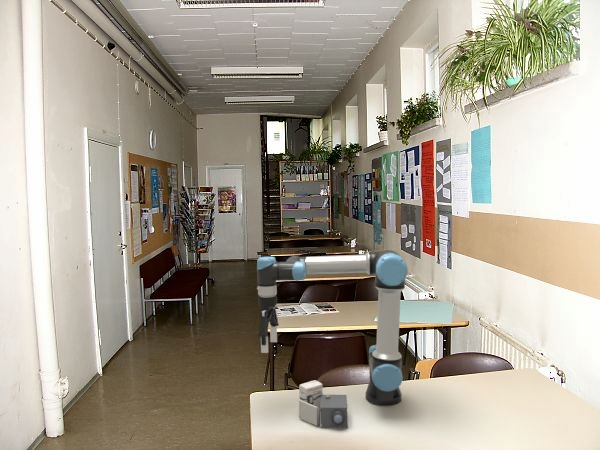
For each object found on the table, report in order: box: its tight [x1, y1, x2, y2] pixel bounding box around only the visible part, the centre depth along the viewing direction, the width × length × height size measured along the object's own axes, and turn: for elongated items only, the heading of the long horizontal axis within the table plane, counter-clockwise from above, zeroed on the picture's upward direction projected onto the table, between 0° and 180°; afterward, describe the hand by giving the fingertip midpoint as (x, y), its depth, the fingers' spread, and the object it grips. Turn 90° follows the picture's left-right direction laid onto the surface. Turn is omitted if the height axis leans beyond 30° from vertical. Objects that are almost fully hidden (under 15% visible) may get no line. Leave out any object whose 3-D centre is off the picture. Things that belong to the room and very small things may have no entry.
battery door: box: [298, 399, 321, 427], centre depth 196 cm, size 1×11×7 cm, turn 44°
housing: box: [320, 394, 349, 429], centre depth 196 cm, size 10×14×9 cm
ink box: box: [298, 379, 324, 408], centre depth 206 cm, size 8×5×12 cm, turn 123°
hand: (269, 347), depth 205 cm, fingers open, 13 cm apart
